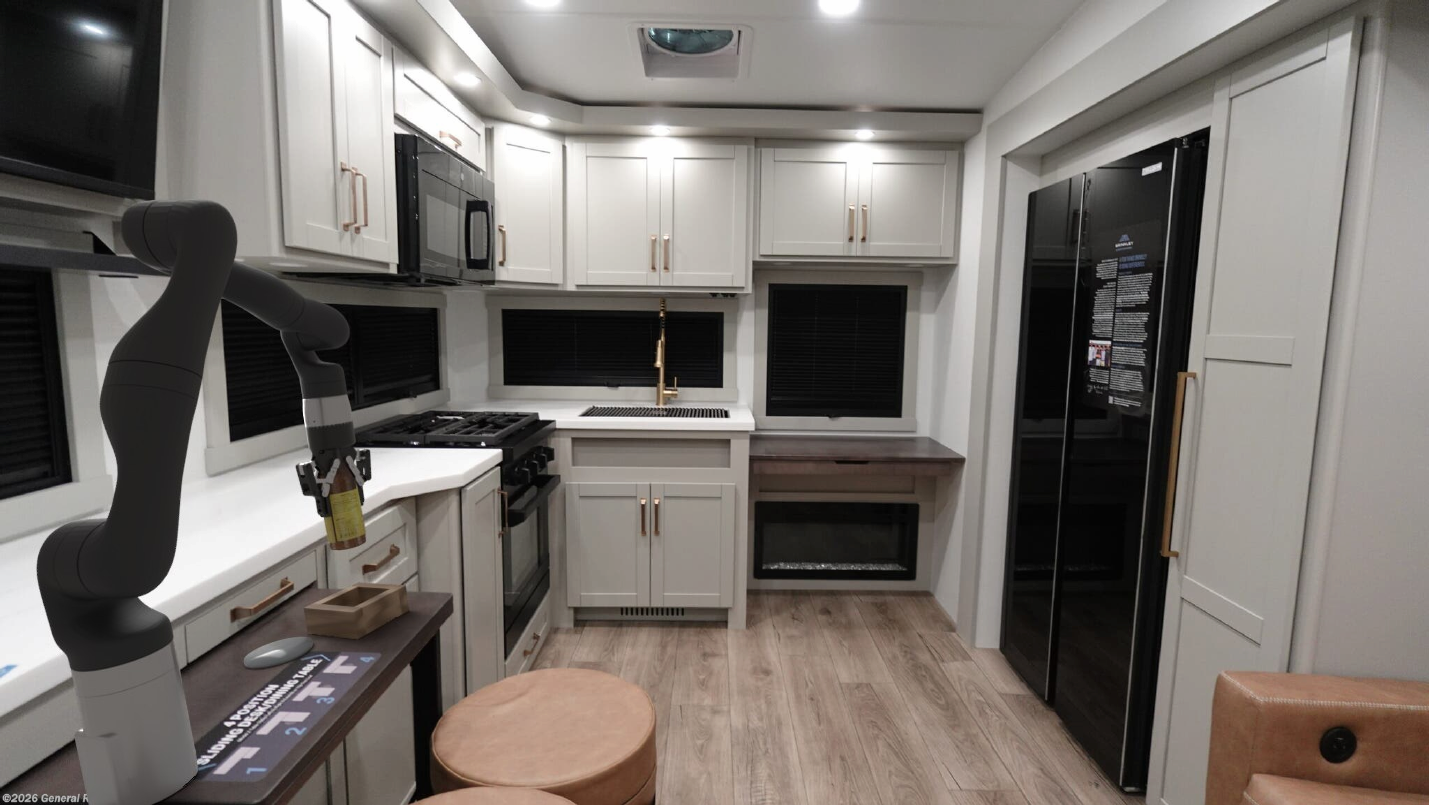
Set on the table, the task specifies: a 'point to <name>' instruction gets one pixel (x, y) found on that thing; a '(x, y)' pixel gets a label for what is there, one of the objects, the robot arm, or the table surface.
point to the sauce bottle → (344, 509)
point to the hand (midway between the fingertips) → (342, 511)
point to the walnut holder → (356, 610)
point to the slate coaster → (278, 652)
